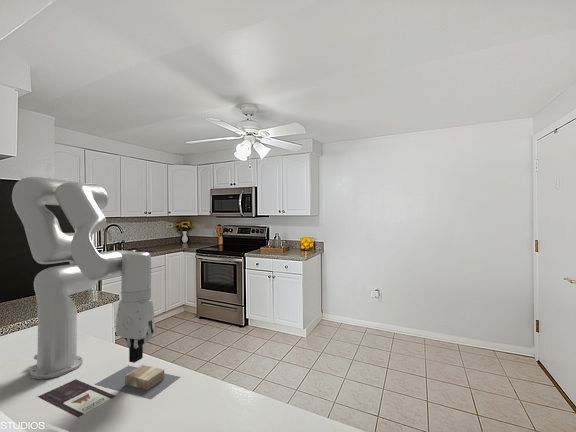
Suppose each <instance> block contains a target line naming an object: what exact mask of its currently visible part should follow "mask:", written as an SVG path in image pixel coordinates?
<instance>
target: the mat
mask: <svg viewBox="0 0 576 432" xmlns="http://www.w3.org/2000/svg"><path fill="white" fill-rule="evenodd" d="M137 368H138V366H132V365H129V364H128V365H127V366H125V367H123V368H121V369H120V370H119V369H118V371H116V372H114V373H112V374H111V375H109V376H107V377H106V378H103V379H101V380H99V381H98V382H96V383H94V385H95V386H99V387H103V388H107V389H111V390H115V391H118V392H120V393H121V392H122V393H126V394H128V395H129V394H130V395H134V396H138V397H141V398H146V399H147V400H153V398H156V396H158V395H159V394H160V393H161V392H163V391H164V390H165V389H168V387H170V386H171V385H173V383H175V382H177V380H179V379H180V378H181V376H178V375H173V374H168V373H165V372H164V379H163V380H161V381H160V382H158V383H157V384H156V385H154V386H153V387H151V388H150V389H148V390H145V389H141V388H137V387H133V386H129V385H125V375H126V374H128V373H130V372H132V371H133V370H135V369H137Z"/></svg>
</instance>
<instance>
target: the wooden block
mask: <svg viewBox="0 0 576 432" xmlns="http://www.w3.org/2000/svg"><path fill="white" fill-rule="evenodd" d="M137 367H138V366H137ZM164 373H165V369H163V368H158V367H155V366H154V367H153V366H150V365H145V364H142V365H140V366H139V367H138V368H137V369H135V370H133V371H132V372H130V373H128V374H126V375H125V385H129V386H133V387H137V388H141V389H145V390H148V389H150V388H151V387H153V386H154V385H156V384H157V383H158V382H160V381H161V380H163V379H164Z"/></svg>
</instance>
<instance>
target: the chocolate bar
mask: <svg viewBox="0 0 576 432" xmlns="http://www.w3.org/2000/svg"><path fill="white" fill-rule="evenodd" d="M37 397H38V398H39V399H41V400H43V401H44V402H47V403H48V404H51V405H53V406H55V407H57V408H59V409H61V410H62V411H64V412H67V413H69V414H70V415H73V416H74V417H77V418H80V417H81V416H83V415H85V414H87V413H88V412H90V411H93V410H94V409H95V408H97V407H99V406H101V405H103V404H105V403H106V402H109V401H110V400H112V399H113V398H116V395H115V394H112V393H110V392H108V391H106V390H103V389H100V388H98V387H95V386H94V385H91V384H88V383H85V382H84V381H81V380H78V379H73V380H71V381H69V382H67V383H64V384H63V385H60V386H58V387H55V388H54V389H51V390H49V391H47V392H45V393H42V394H40V395H38V396H37Z"/></svg>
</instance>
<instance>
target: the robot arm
mask: <svg viewBox="0 0 576 432" xmlns="http://www.w3.org/2000/svg"><path fill="white" fill-rule="evenodd" d="M11 199H12V205H13V207H14V210H15V212H16V214H17V216H18V217H19V219H20V221H21V223H22V225H23V228H24V231H25V232H24V233H25V235H26V239H27V243H28V247H29V249H30V252H31V256H32V258H33V260H34V261H35V262H36V263H38V264H40V265H51V264H59V263H60V264H61V263H65V262H66V263H67V262H69V264H64V265H58V266H57V265H56V266H50V267H48V268H45V269H43V270H41V271H40V272H38V273H37V274H36V275H35V277H34V280H33V290H34V292H35V297H36V304H37V354H35V355H34V356H33V360H35V361H36V365H35V366H34V367H32V369H30V373H29V375H30V377H31V378H32V379H36V380H45V379H51V378H52V379H53V378H57V377H60V376H63V375H66V374H68V373H72V372H73V371H75V370H77V369H78V368H79V367H80V366H82V364H83V358H82V356H80V355H77V353H78V352H77V350H78V349H77V348H78V346H77V343H78V342H77V340H78V339H77V336H78V311H77V310H78V308H77V305H76V303H75V302H74V301H73V299H72V298H71V296H70V295H73V294H77V293H81V292H85V291H89V290H91V289H93V288H94V287H96V286H97V285H98V283H99V281H102V280H106V279H112V278H115V277H121V291H120V295H121V299H120V300H119V302H118V306H117V311H116V321H115V334H116V335H117V336H118V337H120V338H122V339H124V340H125V341H126V343H127V345H126V346H127V348H129V349H128V356H129V357H128V362H130V363H133V364H134V363H137V362H138V361H140V360H142V359H143V355H144V353H143V351H144V345H145V344H146V343H149V342H151V341H153V334H154V332H155V325H156V323H155V322H156V321H155V320H156V319H155V310H154V303H153V299H152V255H151V253H150V252H146V251H131V250H127V249H126V250H125V249H124V250H123V249H122V250H112V251H111V250H110V251H101V252H99V251H98V250H97V248H96V247H95V245H94V244H93V241H92V238H91V236H92V235H94V234H96V233H98V232H99V231H101V230H102V229H103V228H104V227H106V224H107V218H106V216H105V215H104V214H103V212H102V211H101V210H103V209H105V208H106V207H107V206H108V202H109V196H108V193H107V191H106V190H105V189H104V188H103V187H101V186H100V185H98V184H90V183H82V182H77V181H71V180H65V179H64V180H63V179H57V178H49V177H42V176H41V177H40V176H28V177H23V178H21V179H19V180H18V181H17V182H16V183H14V186H13V189H12V193H11ZM46 205H49V206H59V207H60V208H61V210H62V211H63V214H64V216H65V217H66V218H67V221H69V223H70V226H72V228H73V230H74V232H63V230H62V228H61V226H60V223H59V219H58V218H57V217H56V215H55V214H54V213H53V212H52V211H51V210H49V209H48V208H47V206H46Z"/></svg>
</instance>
